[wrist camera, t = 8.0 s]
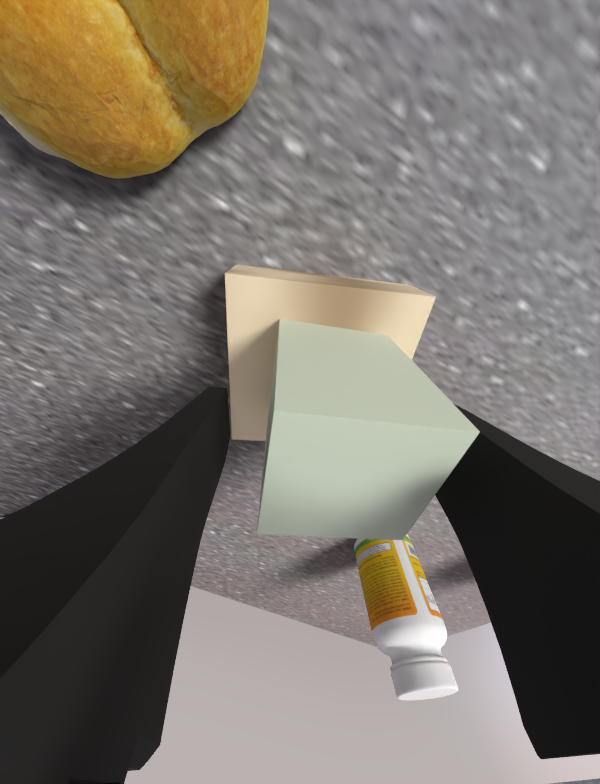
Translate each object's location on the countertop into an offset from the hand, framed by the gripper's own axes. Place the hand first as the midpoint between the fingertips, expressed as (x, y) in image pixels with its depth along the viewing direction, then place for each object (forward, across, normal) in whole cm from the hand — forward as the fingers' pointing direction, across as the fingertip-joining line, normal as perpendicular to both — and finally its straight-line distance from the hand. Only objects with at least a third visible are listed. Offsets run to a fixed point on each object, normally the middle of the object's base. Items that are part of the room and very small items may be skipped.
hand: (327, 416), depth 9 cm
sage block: (+3, 0, 0) cm, 3 cm away
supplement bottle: (+6, -9, +19) cm, 22 cm away
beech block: (+6, 0, 0) cm, 6 cm away
